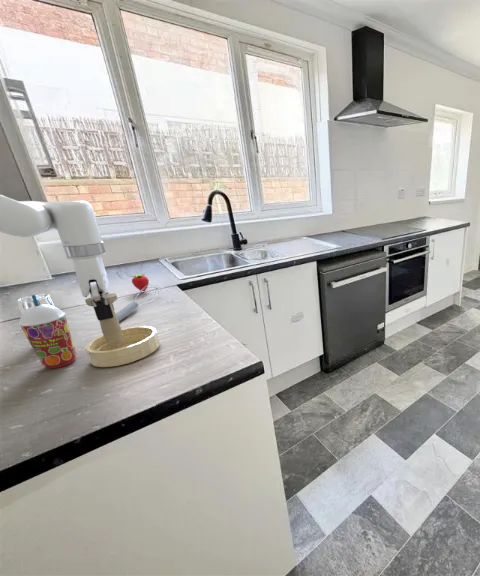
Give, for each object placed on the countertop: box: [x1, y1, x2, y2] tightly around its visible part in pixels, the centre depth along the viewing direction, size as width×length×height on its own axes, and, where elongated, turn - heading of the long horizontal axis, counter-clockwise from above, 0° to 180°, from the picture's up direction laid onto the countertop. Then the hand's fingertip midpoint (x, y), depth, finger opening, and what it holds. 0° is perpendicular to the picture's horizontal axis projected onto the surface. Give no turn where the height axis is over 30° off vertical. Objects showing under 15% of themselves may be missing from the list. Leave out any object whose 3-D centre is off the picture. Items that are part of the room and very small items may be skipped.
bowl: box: [84, 325, 161, 368], centre depth 88 cm, size 16×16×5 cm
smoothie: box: [18, 294, 77, 369], centre depth 82 cm, size 8×8×20 cm
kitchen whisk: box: [115, 283, 163, 322], centre depth 119 cm, size 6×34×6 cm, turn 9°
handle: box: [84, 292, 124, 349], centre depth 86 cm, size 5×6×15 cm
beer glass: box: [16, 293, 55, 315], centre depth 94 cm, size 7×7×15 cm
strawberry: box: [130, 272, 150, 292], centre depth 139 cm, size 6×8×10 cm
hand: (106, 314), depth 85 cm, fingers closed on handle, 5 cm apart
